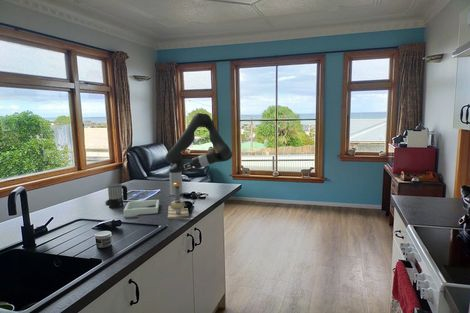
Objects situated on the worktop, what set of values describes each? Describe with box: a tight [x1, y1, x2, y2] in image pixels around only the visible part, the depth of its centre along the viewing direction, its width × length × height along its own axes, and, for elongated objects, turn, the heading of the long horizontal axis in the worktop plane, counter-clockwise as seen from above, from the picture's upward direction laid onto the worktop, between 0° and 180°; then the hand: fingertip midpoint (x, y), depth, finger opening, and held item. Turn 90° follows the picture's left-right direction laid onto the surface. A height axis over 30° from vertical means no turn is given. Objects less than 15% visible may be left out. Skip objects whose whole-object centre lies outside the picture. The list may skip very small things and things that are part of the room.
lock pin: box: [173, 183, 181, 201], centre depth 198 cm, size 5×5×15 cm
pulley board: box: [167, 199, 190, 220], centre depth 191 cm, size 25×12×9 cm, turn 11°
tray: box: [123, 199, 160, 218], centre depth 195 cm, size 19×19×4 cm
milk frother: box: [104, 183, 128, 209], centre depth 210 cm, size 14×16×15 cm
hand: (177, 169), depth 198 cm, fingers open, 8 cm apart
